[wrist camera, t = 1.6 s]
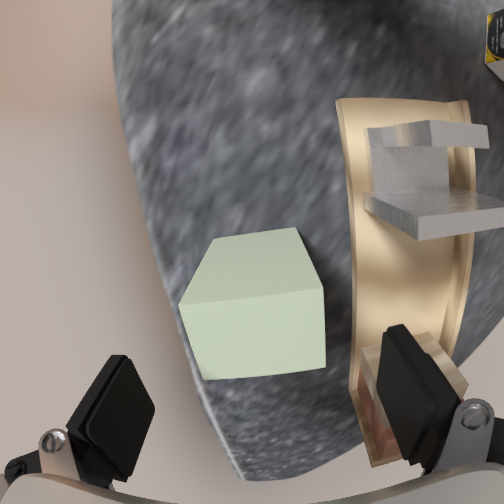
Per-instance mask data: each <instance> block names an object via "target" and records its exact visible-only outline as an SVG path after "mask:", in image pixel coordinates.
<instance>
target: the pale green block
mask: <svg viewBox="0 0 504 504" xmlns="http://www.w3.org/2000/svg"><path fill="white" fill-rule="evenodd" d="M178 306H179V309H180V313H181V316H182V319H183V322H184V325H185V329H186V332H187V335H188V338H189V341H190V344H191V347H192V350H193V353H194V355H195V358H196V361H197V364H198V367H199V370H200V372H201V375H202V378H203V380H210V379H229V378H244V377H255V376H266V375H275V374H283V373H291V372H299V371H306V370H312V369H318V368H324V367H326V355H325V317H324V295H323V286H322V284H321V282H320V279H319V277H318V275H317V273H316V270H315V268H314V266H313V264H312V262H311V259H310V257H309V255H308V253H307V251H306V248H305V246H304V244H303V242H302V240H301V238H300V236H299V233H298V231H297V229H296V227H293V228H286V229H279V230H272V231H265V232H258V233H251V234H244V235H237V236H230V237H223V238H216V239H213V241H212V243H211V245H210V247H209V248H208V250H207V252H206V254H205V256H204V258H203V259H202V261H201V263H200V265H199V267H198V269H197V271H196V273H195V274H194V276H193V278H192V280H191V282H190V284H189V286H188V288H187V290H186V291H185V293H184V295H183V297H182V299H181V301H180V303H179V305H178Z"/></svg>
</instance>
